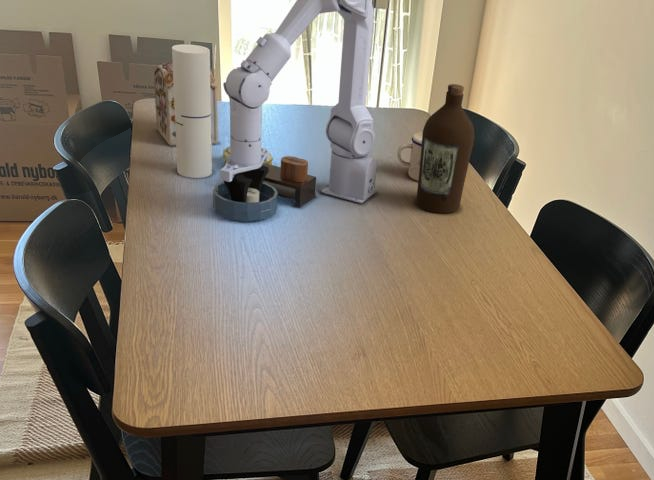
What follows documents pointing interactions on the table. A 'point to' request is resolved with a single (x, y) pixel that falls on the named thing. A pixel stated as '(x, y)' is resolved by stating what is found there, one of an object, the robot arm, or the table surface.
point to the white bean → (252, 195)
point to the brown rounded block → (294, 169)
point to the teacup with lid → (413, 155)
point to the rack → (291, 186)
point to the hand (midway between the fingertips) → (245, 205)
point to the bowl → (245, 204)
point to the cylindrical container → (192, 110)
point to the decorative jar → (167, 108)
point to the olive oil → (445, 155)
